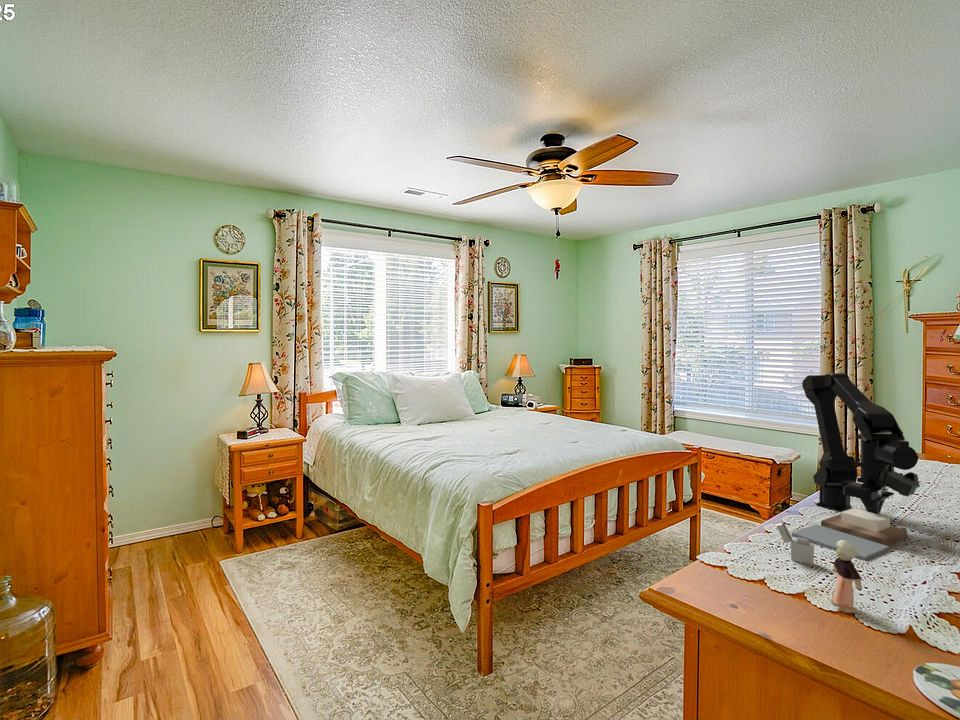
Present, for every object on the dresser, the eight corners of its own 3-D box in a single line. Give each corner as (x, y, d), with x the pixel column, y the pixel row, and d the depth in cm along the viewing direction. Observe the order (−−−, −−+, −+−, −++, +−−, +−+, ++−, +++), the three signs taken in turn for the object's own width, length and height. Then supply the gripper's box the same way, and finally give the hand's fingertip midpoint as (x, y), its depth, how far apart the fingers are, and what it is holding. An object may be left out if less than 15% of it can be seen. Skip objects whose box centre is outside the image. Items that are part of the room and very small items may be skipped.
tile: (841, 521, 128) (841, 512, 128) (853, 517, 131) (853, 508, 130) (877, 532, 121) (877, 522, 121) (889, 527, 123) (889, 517, 123)
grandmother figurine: (819, 598, 95) (820, 533, 95) (838, 596, 96) (838, 532, 95) (852, 620, 88) (853, 551, 87) (872, 619, 88) (873, 549, 88)
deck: (821, 528, 129) (821, 520, 129) (843, 520, 134) (843, 512, 134) (884, 547, 116) (884, 539, 116) (907, 538, 122) (907, 530, 121)
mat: (791, 535, 124) (791, 532, 124) (816, 527, 130) (816, 524, 130) (864, 560, 110) (864, 557, 110) (889, 549, 115) (889, 546, 115)
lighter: (813, 563, 110) (814, 527, 109) (812, 565, 108) (812, 530, 108) (777, 554, 115) (777, 520, 114) (775, 556, 113) (775, 522, 113)
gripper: (895, 472, 115) (894, 537, 116) (931, 460, 124) (930, 521, 125) (842, 462, 125) (841, 522, 126) (878, 452, 134) (878, 508, 135)
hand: (874, 519), depth 127 cm, fingers closed
